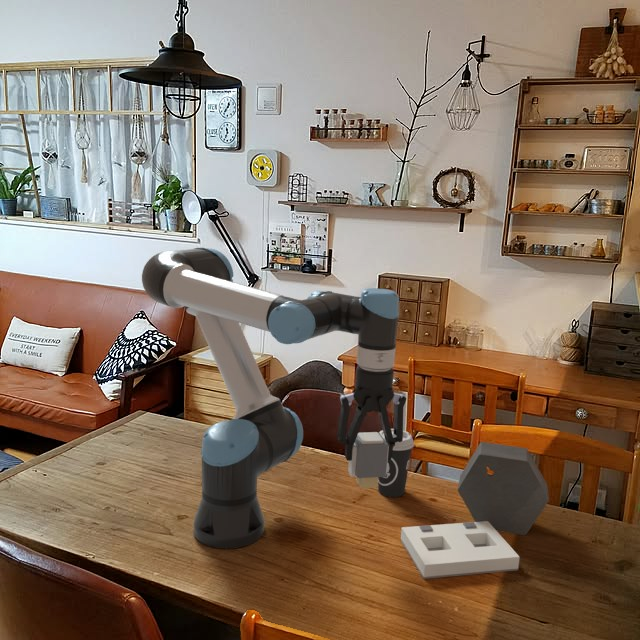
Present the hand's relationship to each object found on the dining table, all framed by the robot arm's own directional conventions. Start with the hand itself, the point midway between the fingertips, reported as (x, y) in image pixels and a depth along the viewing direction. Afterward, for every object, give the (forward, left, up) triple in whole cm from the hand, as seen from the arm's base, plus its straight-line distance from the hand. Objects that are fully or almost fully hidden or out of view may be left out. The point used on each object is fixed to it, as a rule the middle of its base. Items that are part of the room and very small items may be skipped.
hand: (367, 473), depth 133 cm
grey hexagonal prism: (+33, +4, -16) cm, 37 cm away
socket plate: (+18, -7, -16) cm, 25 cm away
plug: (0, 0, -2) cm, 2 cm away
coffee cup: (+13, +22, -16) cm, 30 cm away
